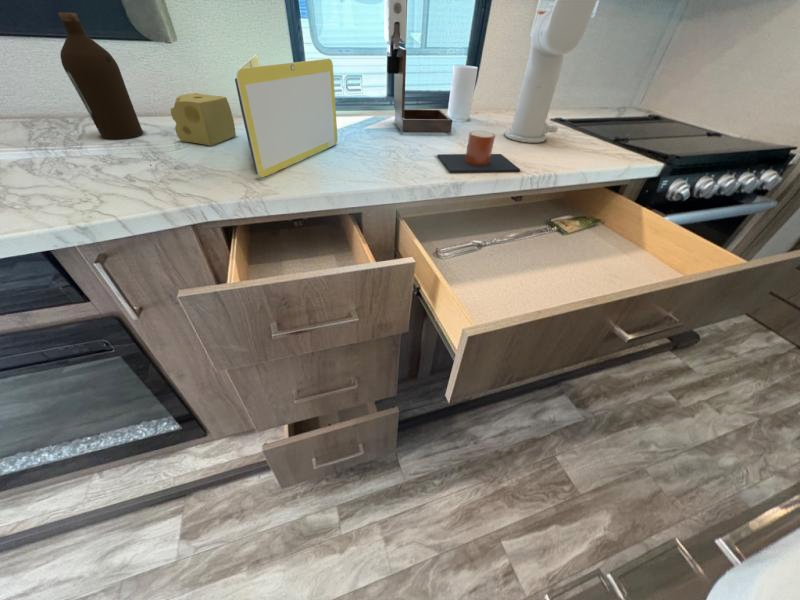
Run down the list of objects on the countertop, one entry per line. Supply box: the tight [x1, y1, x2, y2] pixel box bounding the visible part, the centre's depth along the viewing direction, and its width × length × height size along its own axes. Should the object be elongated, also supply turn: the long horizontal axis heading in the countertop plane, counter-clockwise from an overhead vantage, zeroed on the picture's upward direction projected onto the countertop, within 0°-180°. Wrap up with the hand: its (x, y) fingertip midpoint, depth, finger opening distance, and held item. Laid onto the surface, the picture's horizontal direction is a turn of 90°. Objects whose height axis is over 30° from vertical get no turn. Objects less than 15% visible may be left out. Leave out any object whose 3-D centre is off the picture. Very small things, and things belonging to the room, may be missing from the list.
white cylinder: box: [446, 64, 478, 121], centre depth 117 cm, size 8×8×16 cm
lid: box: [393, 46, 407, 118], centre depth 100 cm, size 16×15×1 cm
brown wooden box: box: [394, 108, 453, 134], centre depth 108 cm, size 16×15×4 cm
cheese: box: [170, 92, 237, 147], centre depth 87 cm, size 10×11×10 cm
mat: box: [437, 153, 521, 174], centre depth 85 cm, size 18×12×1 cm, turn 100°
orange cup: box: [465, 130, 496, 166], centre depth 83 cm, size 6×6×7 cm
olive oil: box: [57, 12, 144, 140], centre depth 82 cm, size 11×11×25 cm
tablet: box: [234, 53, 338, 178], centre depth 78 cm, size 35×22×20 cm, turn 14°
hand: (392, 73), depth 98 cm, fingers closed
